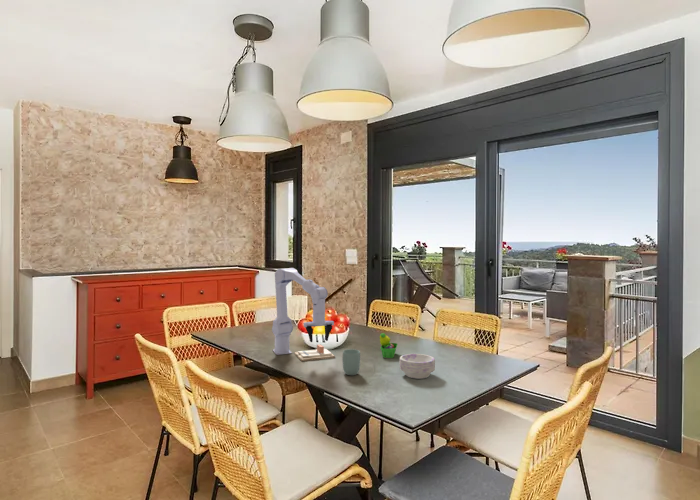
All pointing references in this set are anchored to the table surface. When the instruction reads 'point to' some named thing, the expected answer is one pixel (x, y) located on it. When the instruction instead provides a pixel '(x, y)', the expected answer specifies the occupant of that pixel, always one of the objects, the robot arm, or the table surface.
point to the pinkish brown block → (322, 350)
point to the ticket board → (311, 355)
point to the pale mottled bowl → (417, 365)
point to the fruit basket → (387, 346)
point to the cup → (351, 361)
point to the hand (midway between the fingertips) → (318, 341)
